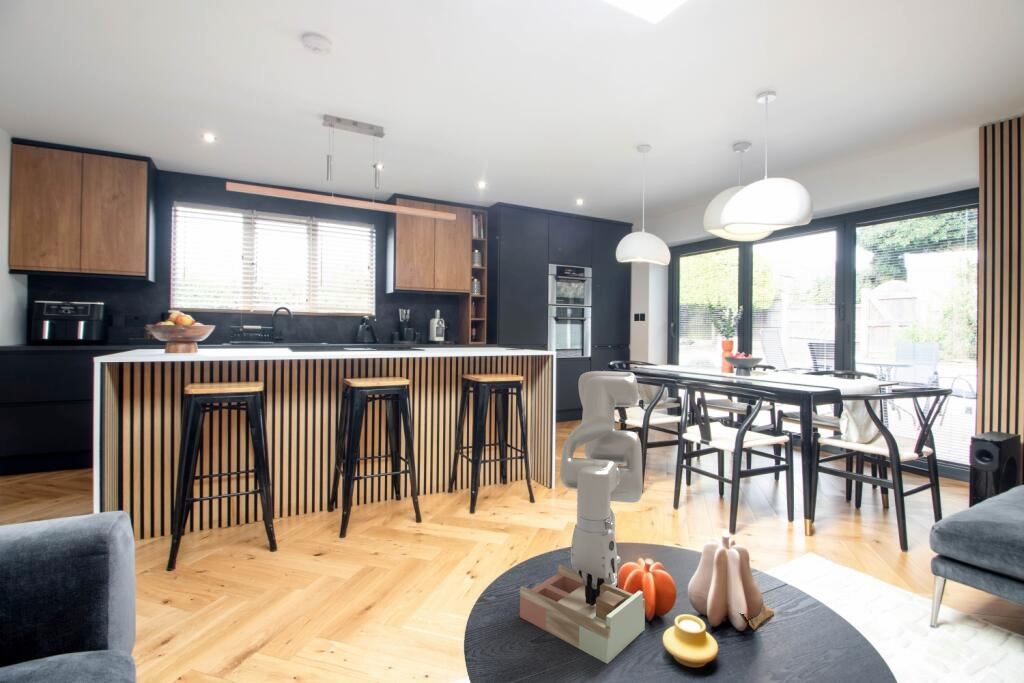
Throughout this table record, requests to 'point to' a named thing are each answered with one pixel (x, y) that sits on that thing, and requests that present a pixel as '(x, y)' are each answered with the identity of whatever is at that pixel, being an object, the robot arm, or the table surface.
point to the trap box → (583, 614)
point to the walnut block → (607, 604)
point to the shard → (761, 617)
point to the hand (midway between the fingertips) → (592, 602)
